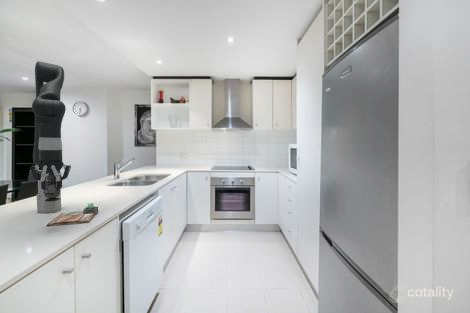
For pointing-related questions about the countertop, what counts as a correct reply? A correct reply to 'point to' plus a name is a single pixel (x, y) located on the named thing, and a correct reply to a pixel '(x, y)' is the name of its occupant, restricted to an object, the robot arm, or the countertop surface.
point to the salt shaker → (51, 189)
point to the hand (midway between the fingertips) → (52, 189)
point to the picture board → (74, 217)
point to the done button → (91, 206)
